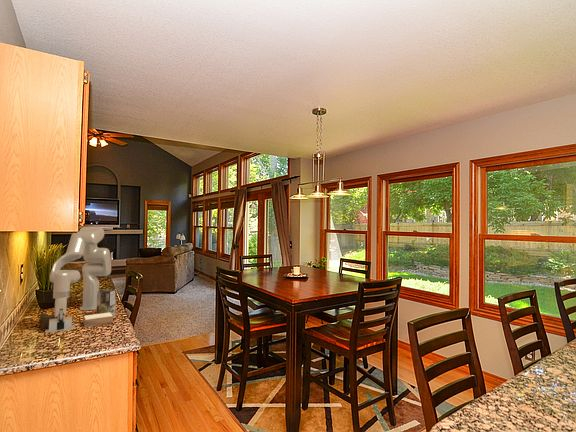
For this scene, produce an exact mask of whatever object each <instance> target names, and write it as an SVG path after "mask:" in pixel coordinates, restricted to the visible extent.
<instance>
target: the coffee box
mask: <svg viewBox="0 0 576 432" xmlns="http://www.w3.org/2000/svg"><path fill="white" fill-rule="evenodd" d="M116 310H117V290H116V289H101V290H99V291H98V292H97V309H96V314H101V313H109V312H110V313H111V314H112V316H113V317H115V316H117V311H116Z"/></svg>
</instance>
